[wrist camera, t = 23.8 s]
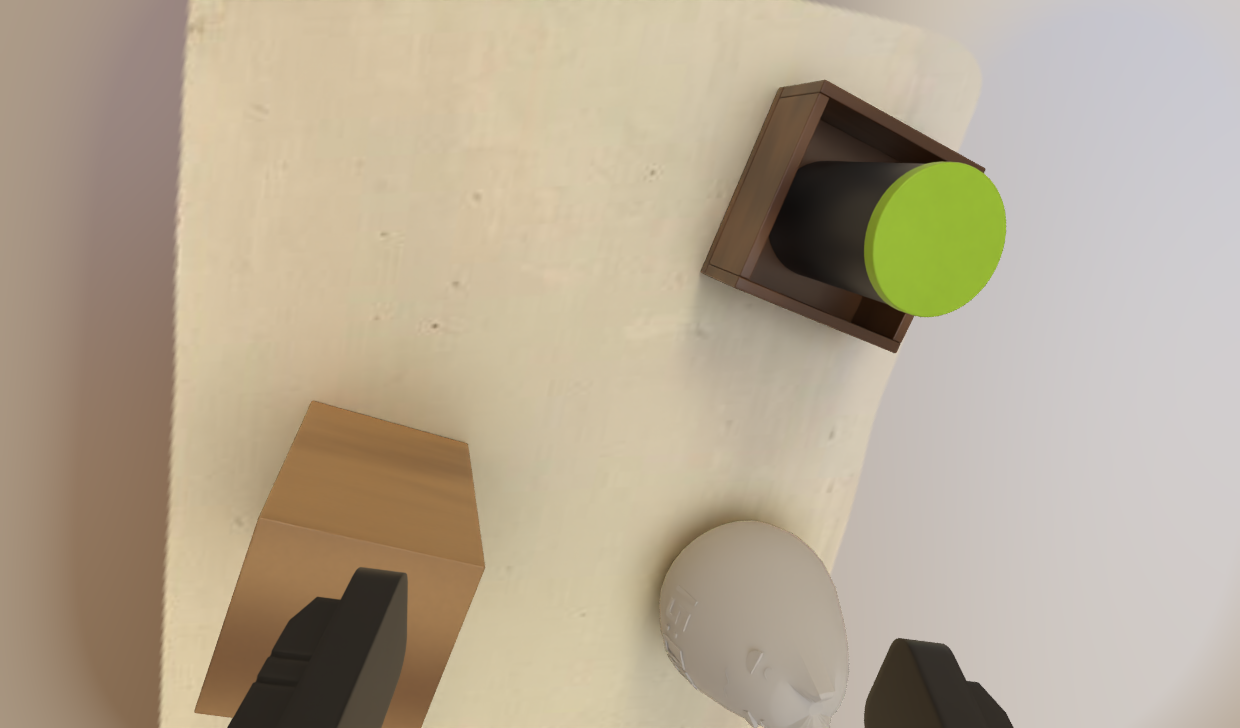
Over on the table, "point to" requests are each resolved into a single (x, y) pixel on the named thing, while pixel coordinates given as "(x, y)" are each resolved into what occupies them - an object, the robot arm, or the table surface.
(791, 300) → the bin
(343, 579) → the stand
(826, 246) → the ball tube
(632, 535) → the table surface
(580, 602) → the table surface
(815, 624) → the toy character
